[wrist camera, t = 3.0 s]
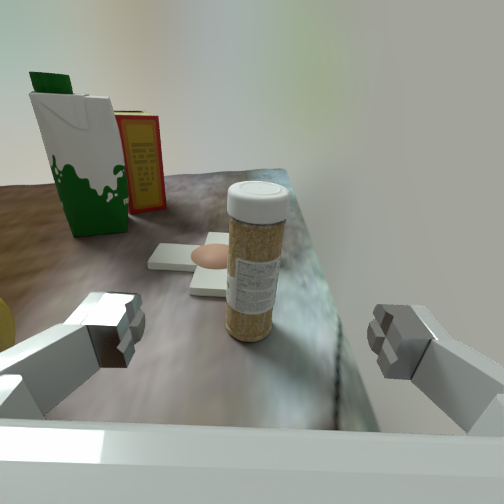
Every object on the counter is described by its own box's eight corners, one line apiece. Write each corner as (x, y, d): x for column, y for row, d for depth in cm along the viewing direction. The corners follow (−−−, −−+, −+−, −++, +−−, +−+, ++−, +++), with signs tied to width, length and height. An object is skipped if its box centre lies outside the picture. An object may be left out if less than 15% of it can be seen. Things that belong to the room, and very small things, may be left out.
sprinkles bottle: (230, 307, 28) (235, 176, 22) (274, 313, 28) (292, 182, 21) (219, 340, 24) (220, 193, 18) (270, 349, 24) (290, 200, 17)
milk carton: (73, 217, 45) (34, 73, 35) (133, 213, 48) (112, 79, 39) (64, 241, 38) (13, 69, 28) (134, 234, 41) (110, 77, 32)
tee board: (133, 291, 30) (132, 283, 29) (169, 235, 42) (168, 228, 41) (237, 297, 30) (238, 289, 29) (242, 239, 42) (243, 233, 41)
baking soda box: (166, 208, 51) (158, 113, 44) (130, 214, 48) (113, 111, 40) (150, 194, 58) (140, 109, 50) (117, 198, 54) (100, 107, 47)
